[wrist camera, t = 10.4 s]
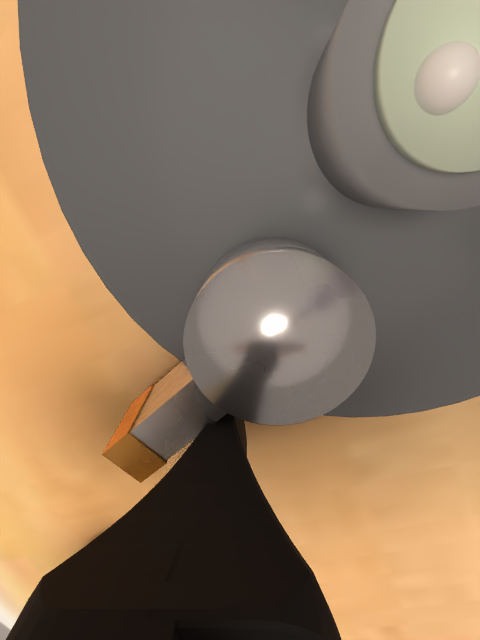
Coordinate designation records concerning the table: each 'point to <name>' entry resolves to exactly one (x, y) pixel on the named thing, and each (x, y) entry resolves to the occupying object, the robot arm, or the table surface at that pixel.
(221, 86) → the tribrach plate
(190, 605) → the robot arm
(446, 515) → the table surface
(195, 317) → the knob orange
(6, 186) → the table surface
